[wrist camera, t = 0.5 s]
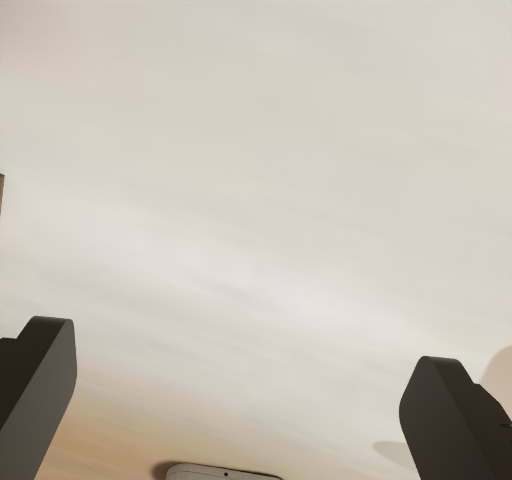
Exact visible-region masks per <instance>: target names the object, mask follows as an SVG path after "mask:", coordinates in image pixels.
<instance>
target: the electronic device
mask: <svg viewBox="0 0 512 480" xmlns="http://www.w3.org/2000/svg"><path fill="white" fill-rule="evenodd" d="M165 480H281V479H278V478H274V477H268V476H263V475H257V474H256V475H255V474H251V473H245V472H239V471H234V470H228V469H222V468H216V467H208V466H203V465H197V464H192V463H182V464H177V465H174V466H172V467H171V468H170V469H169V470H168V471H167V475H166V479H165Z"/></svg>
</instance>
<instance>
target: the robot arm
mask: <svg viewBox="0 0 512 480" xmlns="http://www.w3.org/2000/svg"><path fill="white" fill-rule="evenodd" d="M76 378H77V360H76V347H75V334H74V324H73V321H72V320H71V319H64V318H54V317H44V316H34V317H32V318H31V319H30V320H29V322H28V323H27V324H26V326H25V327H24V329H23V330H22V331H21V333H20V334H19V336H18V337H17V338H16V339H14V338H1V339H0V480H34V478H35V476H36V474H37V471H38V469H39V467H40V465H41V463H42V460H43V458H44V456H45V454H46V452H47V450H48V447H49V445H50V443H51V441H52V439H53V437H54V434H55V432H56V430H57V428H58V426H59V424H60V421H61V419H62V417H63V415H64V413H65V410H66V408H67V406H68V404H69V402H70V400H71V397H72V395H73V391H74V388H75V384H76ZM399 419H400V424H401V428H402V431H403V433H404V436H405V439H406V441H407V444H408V446H409V449H410V452H411V455H412V457H413V460H414V462H415V465H416V468H417V470H418V473H419V476H420V478H421V480H512V421H511V420H510V418H509V417H508V415H507V414H506V412H505V411H504V409H503V407H502V406H501V405H500V403H499V402H498V401H497V400H496V399H495V398H494V397H492V396H491V395H490V394H489V393H488V392H487V391H486V390H485V389H484V388H483V387H482V386H481V385H480V384H474V383H473V381H472V380H471V378H470V376H469V375H468V373H467V372H466V370H465V368H464V367H463V365H462V364H461V363H460V362H459V361H458V360H457V359H451V358H441V357H431V356H423V357H421V358H420V359H419V361H418V362H417V365H416V367H415V369H414V371H413V374H412V376H411V378H410V380H409V383H408V385H407V387H406V389H405V391H404V394H403V396H402V398H401V401H400V406H399Z"/></svg>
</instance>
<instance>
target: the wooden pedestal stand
mask: <svg viewBox="0 0 512 480" xmlns="http://www.w3.org/2000/svg"><path fill="white" fill-rule="evenodd" d="M4 176H5V175H2V174H0V213H1V204H2V194H3V185H4Z"/></svg>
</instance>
